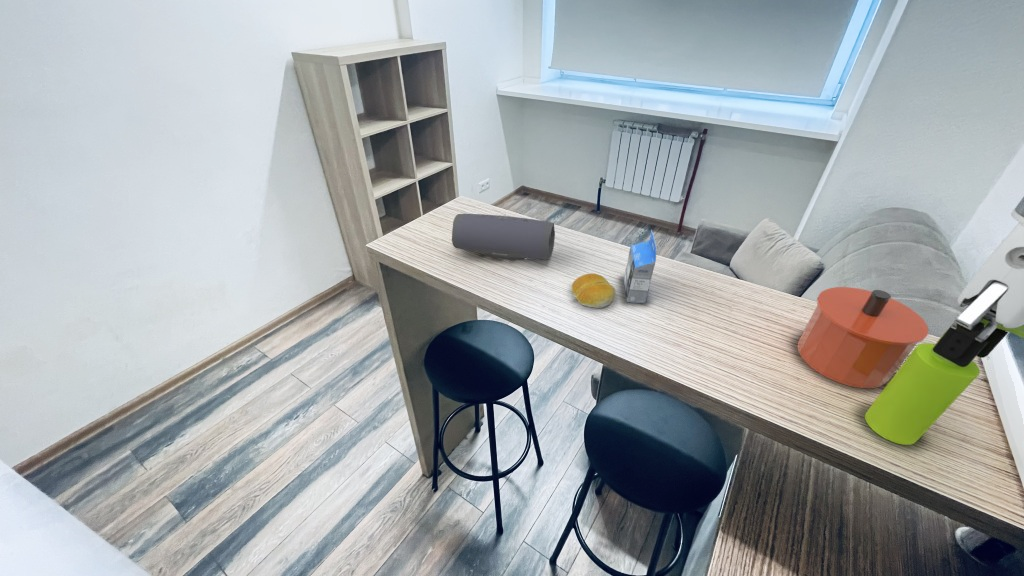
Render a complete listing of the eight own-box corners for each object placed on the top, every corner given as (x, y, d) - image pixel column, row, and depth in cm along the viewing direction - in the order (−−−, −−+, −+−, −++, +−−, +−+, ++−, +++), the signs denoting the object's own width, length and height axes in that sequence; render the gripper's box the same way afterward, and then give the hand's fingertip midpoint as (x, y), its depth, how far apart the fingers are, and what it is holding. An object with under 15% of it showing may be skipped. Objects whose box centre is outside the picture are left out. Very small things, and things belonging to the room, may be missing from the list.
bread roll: (583, 313, 79) (585, 296, 77) (566, 287, 86) (568, 271, 84) (622, 305, 81) (625, 289, 79) (602, 281, 88) (604, 265, 86)
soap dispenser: (925, 458, 53) (1038, 344, 42) (861, 427, 57) (948, 315, 46) (928, 430, 57) (1033, 318, 45) (868, 402, 60) (950, 293, 49)
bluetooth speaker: (554, 251, 99) (556, 213, 93) (547, 271, 92) (549, 231, 86) (466, 241, 104) (462, 205, 98) (453, 260, 96) (448, 221, 91)
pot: (907, 374, 65) (942, 328, 60) (854, 398, 61) (886, 352, 56) (830, 326, 75) (854, 284, 69) (780, 345, 71) (801, 302, 65)
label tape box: (623, 278, 89) (631, 227, 82) (642, 279, 88) (652, 228, 81) (626, 302, 82) (636, 249, 75) (647, 304, 81) (658, 250, 74)
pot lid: (945, 333, 60) (965, 308, 57) (885, 359, 56) (903, 334, 53) (851, 284, 70) (864, 262, 67) (795, 304, 66) (806, 280, 63)
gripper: (1094, 247, 33) (955, 398, 43) (1181, 211, 38) (1037, 355, 48) (977, 211, 38) (879, 353, 49) (1066, 184, 43) (960, 318, 54)
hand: (959, 353), depth 48 cm, fingers closed on soap dispenser, 3 cm apart
